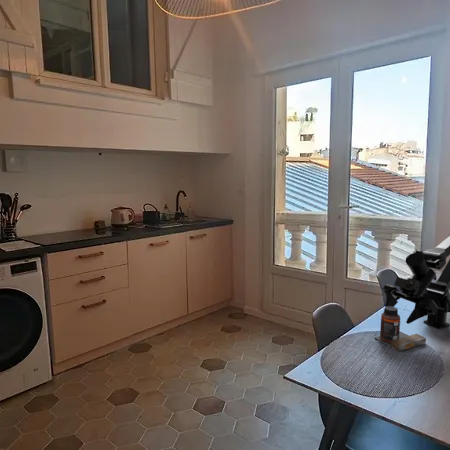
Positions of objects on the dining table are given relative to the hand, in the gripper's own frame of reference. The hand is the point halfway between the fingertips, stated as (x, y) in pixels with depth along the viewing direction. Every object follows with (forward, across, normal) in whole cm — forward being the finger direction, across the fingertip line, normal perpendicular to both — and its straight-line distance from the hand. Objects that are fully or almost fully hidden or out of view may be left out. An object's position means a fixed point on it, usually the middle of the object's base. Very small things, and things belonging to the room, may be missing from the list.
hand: (395, 318), depth 128 cm
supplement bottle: (+7, 0, +4) cm, 8 cm away
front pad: (+5, 0, +6) cm, 8 cm away
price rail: (+5, +5, +6) cm, 9 cm away
